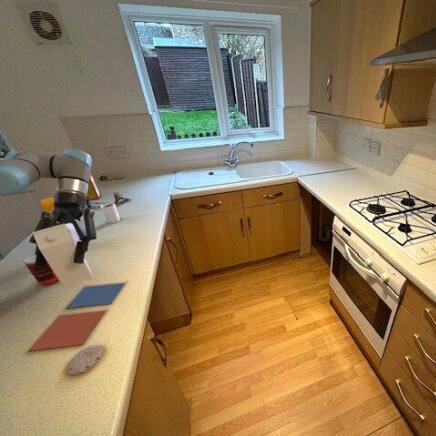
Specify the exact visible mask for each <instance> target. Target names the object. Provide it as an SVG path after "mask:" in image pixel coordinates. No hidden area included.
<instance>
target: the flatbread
mask: <svg viewBox="0 0 436 436" xmlns="http://www.w3.org/2000/svg"><path fill="white" fill-rule="evenodd" d="M103 352H104V346H103V345H89V346H87V347H85V348H84V349H81V350H80V351H78V352H77V353H76V354H75V355H74V356H73V357H72V358H70V360H69V361H68V362H67V364H66V366H65V372H66V373H67V374H69V375H72V376H76V375H79V374H83V373H85V372H87V371H88V370H90V369H91V368H92V367H93V366H94V365H96V364H97V362H99V360H100V359H101V357H102V355H103Z"/></svg>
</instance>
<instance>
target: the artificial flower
mask: <svg viewBox="0 0 436 436" xmlns="http://www.w3.org/2000/svg"><path fill="white" fill-rule="evenodd" d="M113 197H114V200H115V201H114V203H115V205H117V204H118V203H120V200H121V201H124V200H125V201H129V200H130V198H128V197H126V196H125V197H123V192H122V191H120V190H118V191H116V192H113ZM92 204H93V205H99V204H100V202H93V200H91V198H87V199H86V205H85V206H86V208H87V209H92V206H93V205H92ZM103 204H105V202H101V205H103Z"/></svg>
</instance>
